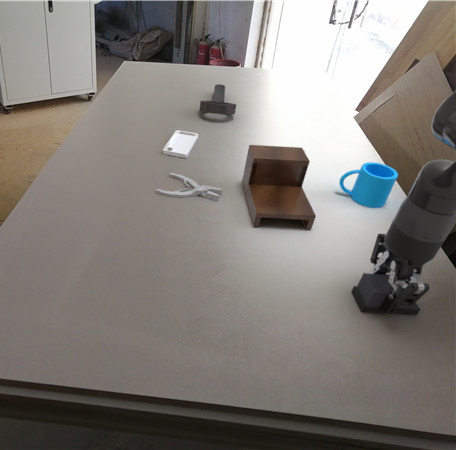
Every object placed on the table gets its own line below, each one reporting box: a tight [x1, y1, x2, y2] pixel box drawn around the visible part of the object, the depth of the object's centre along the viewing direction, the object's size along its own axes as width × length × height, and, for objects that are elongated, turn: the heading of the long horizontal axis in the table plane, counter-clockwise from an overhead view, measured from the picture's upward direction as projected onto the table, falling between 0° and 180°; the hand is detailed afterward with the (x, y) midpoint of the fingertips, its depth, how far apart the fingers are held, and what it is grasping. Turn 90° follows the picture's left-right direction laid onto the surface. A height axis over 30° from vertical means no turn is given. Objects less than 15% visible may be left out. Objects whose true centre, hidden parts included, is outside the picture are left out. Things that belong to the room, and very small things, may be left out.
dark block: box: [351, 272, 421, 316], centre depth 73 cm, size 10×5×5 cm, turn 88°
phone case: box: [162, 129, 199, 159], centre depth 121 cm, size 7×1×15 cm
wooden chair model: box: [241, 144, 316, 231], centre depth 95 cm, size 13×19×11 cm
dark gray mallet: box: [199, 83, 237, 116], centre depth 146 cm, size 12×8×30 cm
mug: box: [338, 162, 399, 209], centre depth 100 cm, size 12×8×8 cm
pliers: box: [156, 172, 223, 202], centre depth 101 cm, size 10×2×15 cm
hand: (379, 299), depth 74 cm, fingers closed on dark block, 5 cm apart
